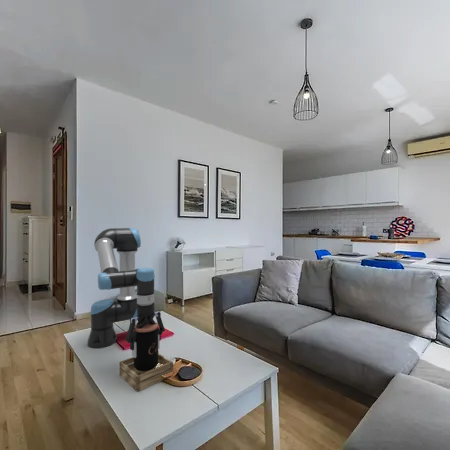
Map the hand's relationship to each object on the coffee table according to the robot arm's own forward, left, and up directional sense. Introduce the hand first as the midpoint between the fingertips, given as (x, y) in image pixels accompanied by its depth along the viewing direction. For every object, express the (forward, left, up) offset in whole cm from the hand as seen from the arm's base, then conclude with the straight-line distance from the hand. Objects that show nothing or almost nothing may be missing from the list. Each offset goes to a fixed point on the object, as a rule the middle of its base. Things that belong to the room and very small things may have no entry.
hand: (146, 352), depth 124 cm
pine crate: (0, 0, -11) cm, 11 cm away
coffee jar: (0, 0, -6) cm, 6 cm away
